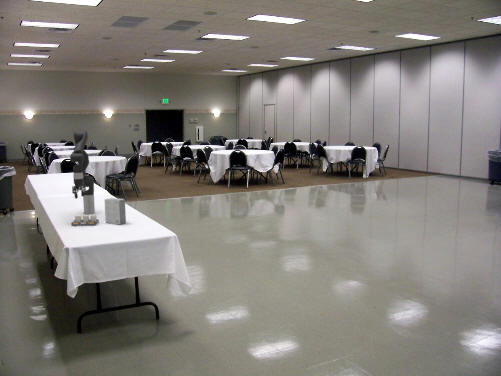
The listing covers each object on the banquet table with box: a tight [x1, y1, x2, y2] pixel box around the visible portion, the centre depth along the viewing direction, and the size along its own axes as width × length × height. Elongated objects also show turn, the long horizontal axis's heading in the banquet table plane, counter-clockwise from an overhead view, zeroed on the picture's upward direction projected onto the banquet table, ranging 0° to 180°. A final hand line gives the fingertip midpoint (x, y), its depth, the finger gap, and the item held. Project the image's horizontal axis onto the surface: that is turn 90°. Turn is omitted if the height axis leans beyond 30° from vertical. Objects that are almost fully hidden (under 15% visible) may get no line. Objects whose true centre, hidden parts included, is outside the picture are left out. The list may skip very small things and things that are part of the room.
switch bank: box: [70, 218, 100, 227], centre depth 398 cm, size 12×19×3 cm, turn 96°
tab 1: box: [74, 214, 83, 222], centre depth 400 cm, size 4×4×5 cm
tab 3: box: [89, 214, 98, 222], centre depth 401 cm, size 4×4×5 cm
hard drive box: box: [104, 197, 127, 225], centre depth 401 cm, size 16×8×20 cm, turn 65°
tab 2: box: [82, 214, 90, 222], centre depth 400 cm, size 4×4×5 cm
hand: (79, 197), depth 401 cm, fingers open, 8 cm apart
